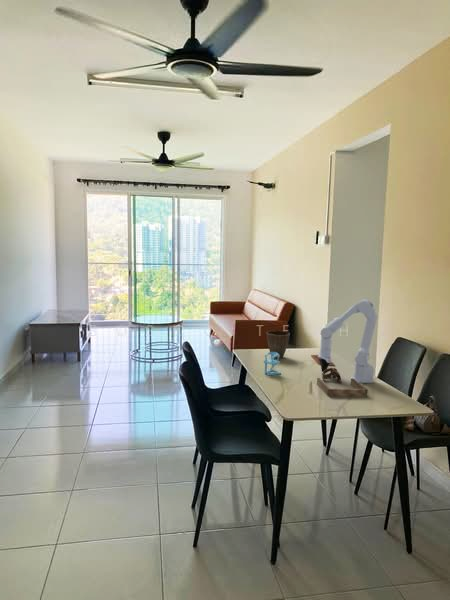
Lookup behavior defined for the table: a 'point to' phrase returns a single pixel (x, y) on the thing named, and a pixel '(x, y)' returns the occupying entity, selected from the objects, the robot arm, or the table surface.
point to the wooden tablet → (319, 361)
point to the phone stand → (272, 362)
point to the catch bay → (344, 390)
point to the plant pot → (278, 342)
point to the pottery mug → (331, 374)
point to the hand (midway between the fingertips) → (323, 371)
